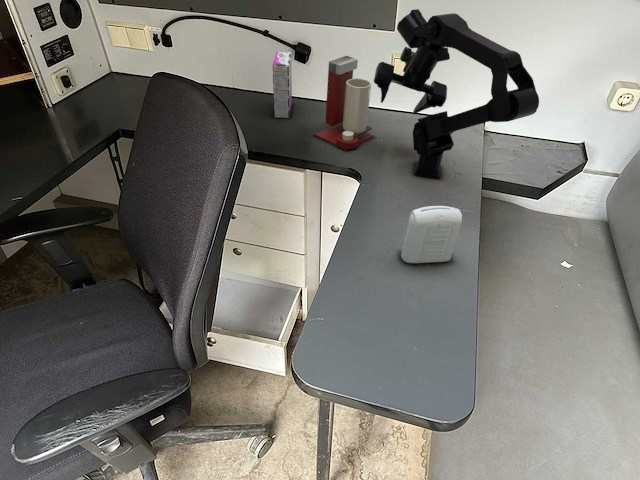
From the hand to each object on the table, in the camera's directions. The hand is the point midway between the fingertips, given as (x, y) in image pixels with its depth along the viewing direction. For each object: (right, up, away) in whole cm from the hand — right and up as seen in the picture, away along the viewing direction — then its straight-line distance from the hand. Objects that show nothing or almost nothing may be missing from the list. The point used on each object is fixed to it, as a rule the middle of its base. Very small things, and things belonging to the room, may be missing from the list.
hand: (397, 107), depth 126 cm
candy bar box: (-32, +5, +22) cm, 39 cm away
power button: (-13, -8, +4) cm, 16 cm away
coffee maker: (-14, -6, +10) cm, 18 cm away
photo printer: (+1, -39, -30) cm, 49 cm away
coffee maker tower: (-12, -3, +10) cm, 16 cm away
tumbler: (-11, -3, +9) cm, 14 cm away
